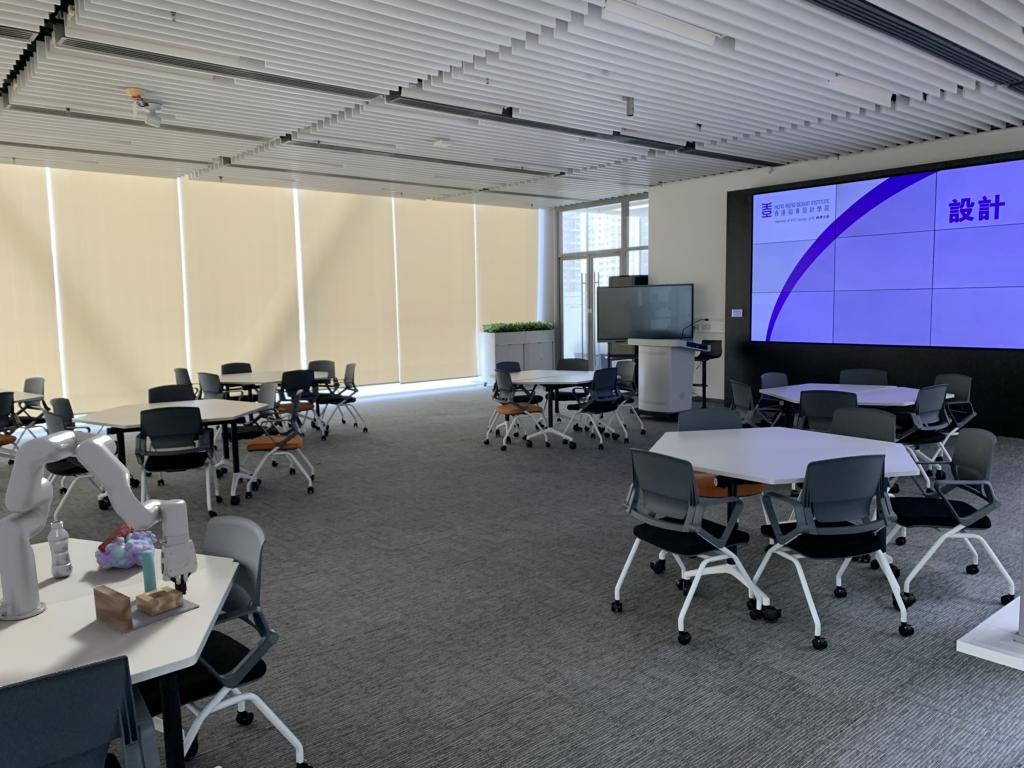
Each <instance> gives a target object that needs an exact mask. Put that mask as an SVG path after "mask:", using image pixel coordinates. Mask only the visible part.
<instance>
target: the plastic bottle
mask: <svg viewBox="0 0 1024 768" xmlns="http://www.w3.org/2000/svg"><path fill="white" fill-rule="evenodd" d="M50 529H51V530H50V531H49V533H48V535H47V541H48V545H49V549H50V553H51V568H50V572H51V575H52V576H53V577H54V578H64V577H68V576H70V575H71V574H72V573H73V568H74V567H73V563H72V562H71V557H70V551H69V539H70V538H69V533H68V532H67V530H66V529H65V528H64V522H63V520H54V521H52V522H50Z"/></svg>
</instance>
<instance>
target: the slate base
mask: <svg viewBox="0 0 1024 768" xmlns="http://www.w3.org/2000/svg"><path fill="white" fill-rule="evenodd" d="M183 603H184V605H182V606H179V607H176V608H173V609H170V610H167V611H164V612H161V613H159V614H156V615H153V616H152V615H150V614H148V613H145V612H143V611H141V610H139V609H137V604H134V605H131V612H132V622H133V629H131V630H128V631H125V632H121V631H119V630H118V629H116V628H114V627H112V626H110V625H108V624H107V623H105V622H103V621H101V620H99V619H98V618H96V617H95V618H96V620H97V621H99V622H101V624H102V623H103V624H104V625H106V626H108V627H109V628H111V629H113V630H115V631H117V632H118V631H119V632H118V633H120V632H121V633H120V634H122V635H124V634H126V633H129V632H133V631H135V630H139V629H141V628H144V627H147V626H151V625H152V624H155V623H157V622H161V621H164V620H167V619H169V618H172V617H175V616H178V615H180V614H183V613H186V612H190V611H191V610H194V609H197V608H200V604H197V603H195V602H193V601H191V600H189V599H186V598H183ZM132 630H133V631H132Z"/></svg>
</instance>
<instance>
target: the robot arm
mask: <svg viewBox="0 0 1024 768" xmlns="http://www.w3.org/2000/svg"><path fill="white" fill-rule="evenodd" d="M116 452H117V444H116V442H115V441H114V439H113V438H112V437H110V436H108V435H107V434H106V435H105V434H102V433H95V432H87V431H80V430H61V431H56V432H54V433H50V434H47V435H43V436H40V437H35V438H32V439H29V440H26V441H25V442H23V443H21V445H20V446H19V447H18V449H17V451H16V453H15V457H14V460H13V461H14V462H13V466H12V470H11V473H10V478H9V480H8V481H9V482H8V484H7V488H6V493H5V498H4V504H5V507H6V508H7V510H9V511H10V512H11V513H10V514H8V515H6V516H5V517H2V518H1V519H0V583H1V590H2V591H1V592H2V601H0V620H2V621H17V620H24V619H27V618H30V617H34V616H36V615H40V614H41V613H43V612H44V611H45V610H46V609H47V603H45V602H44V601H41V598H40V590H39V582H38V581H39V580H38V572H37V564H36V562H37V561H36V556H35V555H36V554H35V552H34V549H33V547H32V545H31V543H30V539H32V538H34V537H35V536H37V535H39V534H40V533H41V532H42V531H43V530H44V528H45V526H46V523H47V521H48V517H49V513H50V509H51V507H52V506H51V505H52V501H53V497H54V489H53V485H52V483H51V482H50V480H49V479H48V478H45V477H44V475H45V464H49V463H55V462H59V461H60V460H63V459H66V458H69V457H73V458H76V459H77V462H79V463H80V464H81V465H82V466H83V467H84V468H85V469H86V471H88V472H89V474H90V475H91V476H92V477H94V479H95V480H96V481H97V482H98V483H99V484H100V485H101V486H102V488H104V489H105V491H106V494H107V497H108V500H109V502H110V504H111V506H112V508H113V510H114V511H115V512H116V514H117V515H118V516H119V517H120V518H121V519H122V520H123V522H126V523H127V524H128V525H129V526H130V527H132V528H133V529H136V530H139V531H147V530H149V529H150V528H151V527H153V526H154V525H156V524H158V523H160V522H161V527H162V528H161V529H162V538H160V539H159V540H158V543H159V544H161V549H160V572H161V575H162V579H161V580H162V581H163V582H172V583H174V589H175V590H178V591H180V592H182V593H183V596H185V595H187V590H188V589H187V582H188V579H189V578H190V576H191V575H193V574H195V573H196V572H197V569H198V558H197V551H196V548H195V545H194V542H193V540H192V539H190V533H189V532H190V531H189V521H188V509H187V508H188V507H187V503H186V501H185V500H184V499H180V498H179V499H178V498H177V499H175V498H174V499H169V500H165V499H158V498H157V499H156V498H155V499H154V498H151V499H148V500H146V501H144V502H141V501H139V500H138V498H137V497H136V496H135V495H134V492H133V490H132V489H131V485H130V481H131V480H130V479H131V474H130V470H129V469H128V468H127V467H126V466H125V465H124V464H123V463H122V462H121V461H120V460H119V459H118V457H117V456H116Z"/></svg>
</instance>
